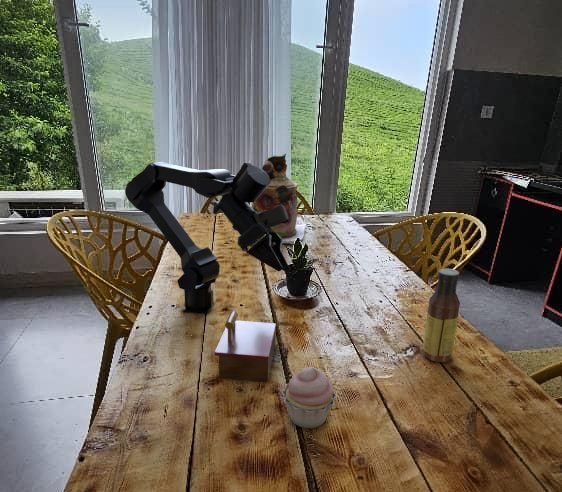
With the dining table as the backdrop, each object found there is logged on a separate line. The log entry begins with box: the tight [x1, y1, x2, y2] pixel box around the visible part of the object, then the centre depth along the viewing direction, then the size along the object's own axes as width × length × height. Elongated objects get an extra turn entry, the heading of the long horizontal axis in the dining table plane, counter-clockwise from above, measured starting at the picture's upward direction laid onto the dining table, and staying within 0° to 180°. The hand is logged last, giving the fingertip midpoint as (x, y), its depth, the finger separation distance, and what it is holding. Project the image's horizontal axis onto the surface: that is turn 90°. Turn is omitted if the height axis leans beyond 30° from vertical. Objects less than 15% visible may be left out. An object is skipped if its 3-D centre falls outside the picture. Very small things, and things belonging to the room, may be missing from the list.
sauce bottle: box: [422, 267, 461, 363], centre depth 93 cm, size 6×6×20 cm
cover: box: [213, 310, 277, 360], centre depth 90 cm, size 10×14×5 cm
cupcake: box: [281, 366, 338, 429], centre depth 75 cm, size 9×9×10 cm
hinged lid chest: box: [218, 327, 277, 383], centre depth 92 cm, size 10×14×5 cm
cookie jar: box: [251, 152, 307, 245], centre depth 173 cm, size 25×25×32 cm
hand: (285, 270), depth 96 cm, fingers open, 9 cm apart
